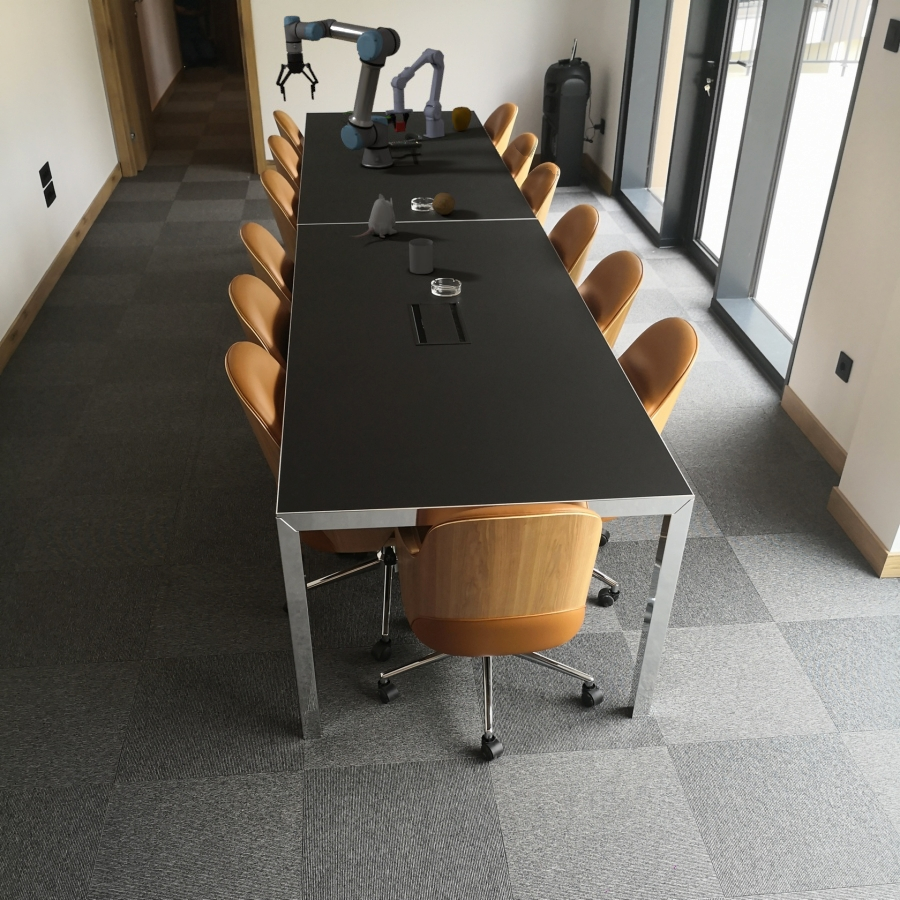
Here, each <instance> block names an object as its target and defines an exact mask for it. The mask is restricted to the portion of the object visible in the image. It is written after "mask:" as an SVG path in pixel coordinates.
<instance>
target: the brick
mask: <svg viewBox="0 0 900 900" xmlns="http://www.w3.org/2000/svg"><path fill="white" fill-rule="evenodd" d="M393 129H394V128H393ZM394 131H395V132H396V133H404V132H406V128H405V122H404V121H403V120H396V129H394Z"/></svg>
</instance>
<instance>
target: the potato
mask: <svg viewBox="0 0 900 900" xmlns="http://www.w3.org/2000/svg"><path fill="white" fill-rule="evenodd" d="M455 206H456V200H455V198H454V196H452V195H451V194H449V193H448V192H439V193H437V194H436V195H435V197H434V198H433V200H432V201H431V207H432V209H433V210H434V212H436V213H437V214H439V215H441V216H442V215H449V214H450V213H452V212H453V211H454V209H455Z"/></svg>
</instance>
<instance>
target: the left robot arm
mask: <svg viewBox="0 0 900 900" xmlns="http://www.w3.org/2000/svg"><path fill="white" fill-rule="evenodd" d="M283 28H284V29H283V30H284V38H285V49H286V50H285V51H286V59H287V60H286V61H287V64H286V63H285V64H284V63H281V64H280V70H279V74H278V77H277V79H276V81H275V85H276V86H277V87H279V89H280V95H282V97H283V98H282V99H283V102H287V96H286V87H285V86H284V85H285V84H286V82H287V81H288V79H289V78H290V76H291V75H292V74H293V75H296V74H298V75H300V74H302V75H303V76H304V77H305V78H306V79H307V80H308V81H309V82H310V83H311V84H310V95H311V97H310V98H311V100H312V101H314V100H315V95H314V93H316V85H317V84H319V83H320V81H319V80H318V78H317V76H316V74H315V72H314V71H313V69H312V66H311V63H310V62H307V63H305V62H304V53H303V41H310V42H319V41H320V40H321V39H326V38H327V39H334V40H340V41H344V42H350V43H354V44H356V52H357V54H358V56H359V59H358V60H359V62H360V64H361V66H360V73H359V78H358V83H357V87H356V94H355V100H354V105H353V109H352V111H353V113H351V114H350V115H351V116H350V115H349V116H348V119H347V122H348V124H345V125H344V126H343V127H342V128H341V130H340V137H341V138H340V139H341V141H342V142H343V145H344V146H345V147H346V148H347V149H348V150H351V151H360V150H362V149H364V151H363V155H362V159H361V166H362V167H363V168H366V169H371V170H381V169H387V168H390V167H392V166H394V161H393V160H401V159H403V158H405V157H408V156H421V155H422V154H421V152H418V153H417V152H415V153H414V152H413V153H405V154H403V155H402V156H392V155H391V152H390V151H391V150H390V147H389V145H390V144H389V123H388V121H387V118H385V116H384V115H383V116H381V115H375V114H374V115H373V110H374V105H375V101H376V100H375V99H376V94H377V88H378V84H379V79H380V74H381V70H382V68H384V67H385V66H386V62H387V58H388V57H392V56H394V55H395V54H397V53H398V51H399V50H400V47H401V44H402V43H401V42H402V41H401V37H400V35H399V32H398V31H396V30H395V29H394V28H392V27H385V26H378V27H376V28H375V27H371V26H365V25H359V24H353V23H349V22H343V21H337V20H336V19H334V18H327V19H322V20H315V21H301V17H300V16H298V15H286V16H284V18H283ZM305 67H306V68H307V69H308V71H309V73H310V75H311V77H312V78H313V79H312V78H311V77H310V76H309V75H308V73H307V72H306V71H304V69H305ZM286 69H288V71H287V72H286V73H285V70H286ZM284 73H285V75H284ZM283 75H284V77H283ZM282 78H283V79H282Z"/></svg>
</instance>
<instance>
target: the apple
mask: <svg viewBox="0 0 900 900" xmlns="http://www.w3.org/2000/svg"><path fill="white" fill-rule="evenodd" d="M451 121H452V125H453V128H454V129H455V131H457V132H463V131H466V130H467V129H468V128H469V126H470V124H471V121H472V111H471V108H469V107H467V106H462V105H461V106H457V107H454V108H452V111H451Z"/></svg>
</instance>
